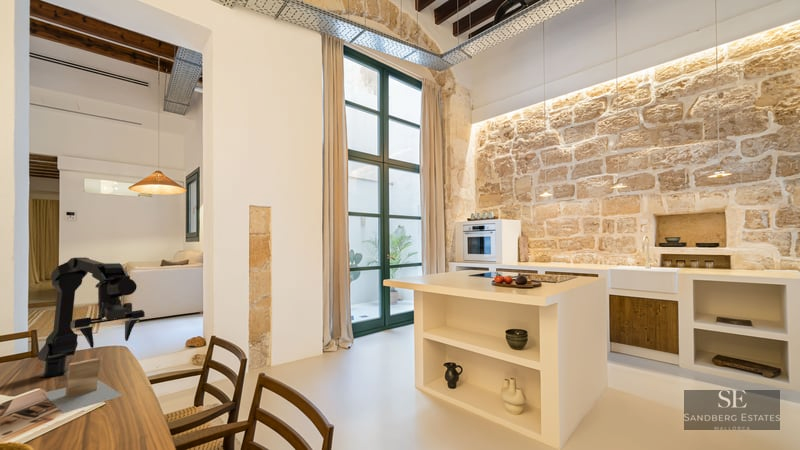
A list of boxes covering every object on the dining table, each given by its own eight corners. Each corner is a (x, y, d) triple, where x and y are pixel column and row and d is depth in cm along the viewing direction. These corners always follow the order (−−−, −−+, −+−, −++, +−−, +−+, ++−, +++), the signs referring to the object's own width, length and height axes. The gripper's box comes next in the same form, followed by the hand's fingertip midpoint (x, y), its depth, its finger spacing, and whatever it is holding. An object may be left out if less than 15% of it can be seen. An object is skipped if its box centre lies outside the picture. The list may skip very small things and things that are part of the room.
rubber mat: (42, 394, 106) (42, 393, 106) (98, 380, 118) (98, 379, 118) (62, 414, 95) (63, 412, 95) (122, 396, 107) (123, 395, 107)
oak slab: (65, 395, 105) (68, 363, 106) (93, 388, 111) (96, 358, 112) (67, 397, 104) (71, 365, 105) (96, 390, 110) (99, 359, 110)
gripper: (79, 300, 103) (79, 351, 101) (149, 293, 119) (151, 337, 116) (70, 303, 109) (70, 351, 107) (138, 295, 125) (139, 337, 122)
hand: (110, 344), depth 113 cm, fingers open, 9 cm apart
